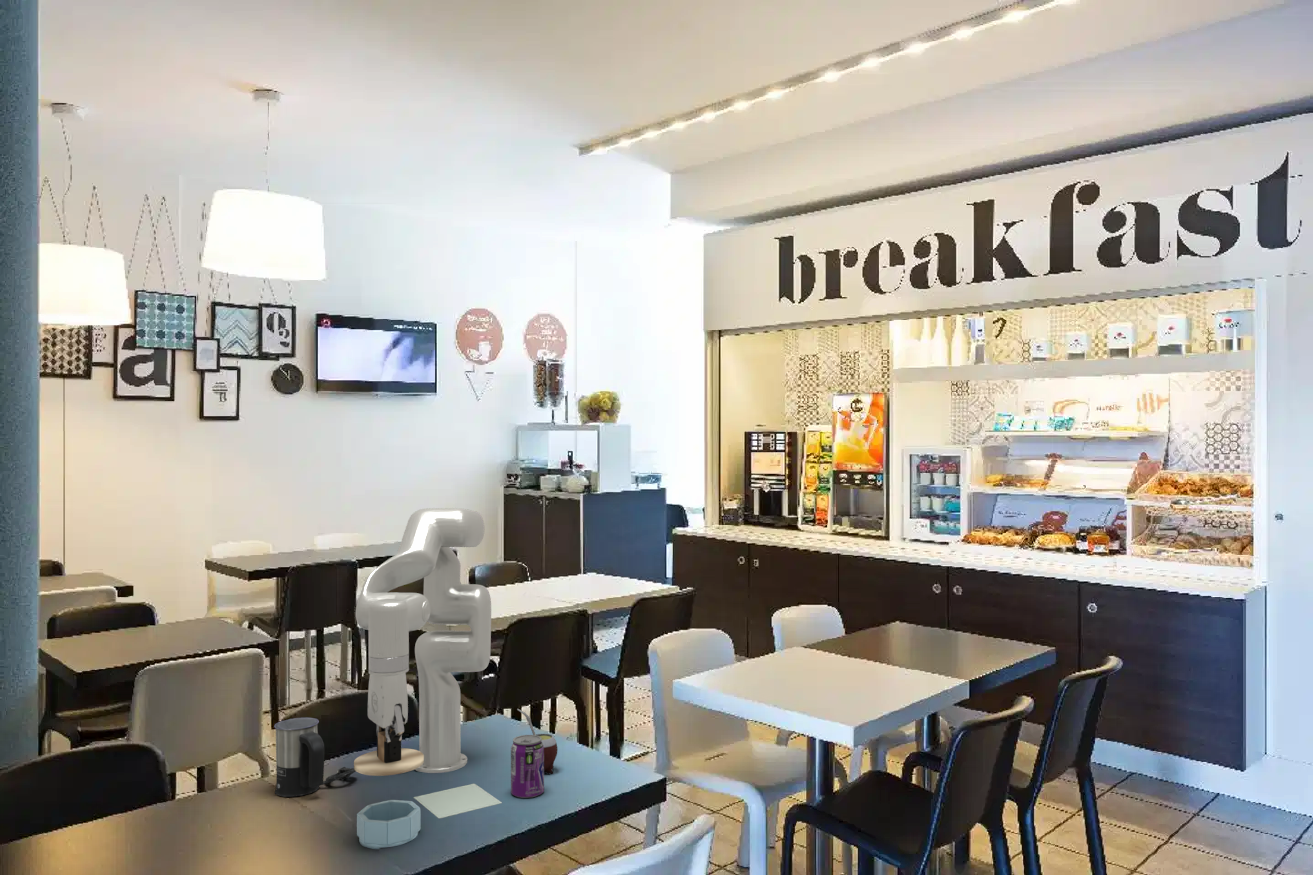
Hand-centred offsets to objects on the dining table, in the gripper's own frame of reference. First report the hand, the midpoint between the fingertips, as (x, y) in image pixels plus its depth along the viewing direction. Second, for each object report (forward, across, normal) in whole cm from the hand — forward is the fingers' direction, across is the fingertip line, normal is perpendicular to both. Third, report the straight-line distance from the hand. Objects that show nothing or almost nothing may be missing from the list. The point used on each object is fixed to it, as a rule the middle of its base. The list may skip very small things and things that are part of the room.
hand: (389, 758), depth 182 cm
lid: (+1, 0, 0) cm, 1 cm away
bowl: (+15, 0, 0) cm, 15 cm away
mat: (+15, -9, +18) cm, 25 cm away
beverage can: (+15, -4, +32) cm, 36 cm away
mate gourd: (+15, -15, +41) cm, 46 cm away
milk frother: (+15, -36, -4) cm, 40 cm away
